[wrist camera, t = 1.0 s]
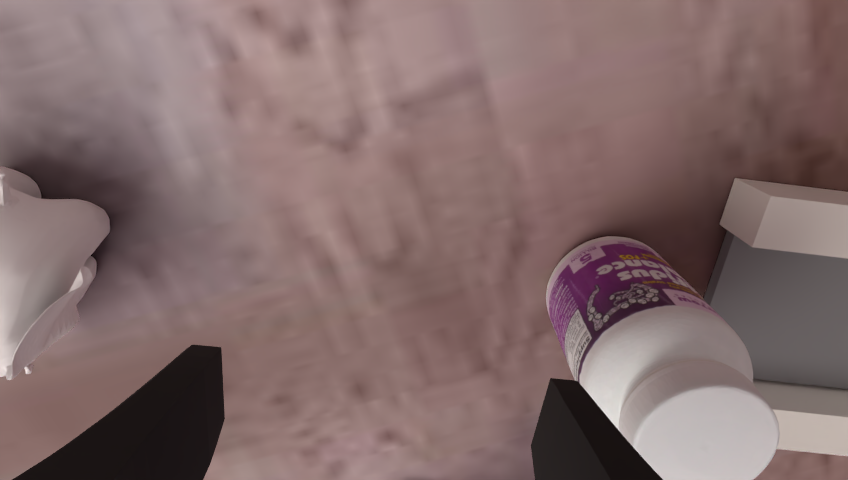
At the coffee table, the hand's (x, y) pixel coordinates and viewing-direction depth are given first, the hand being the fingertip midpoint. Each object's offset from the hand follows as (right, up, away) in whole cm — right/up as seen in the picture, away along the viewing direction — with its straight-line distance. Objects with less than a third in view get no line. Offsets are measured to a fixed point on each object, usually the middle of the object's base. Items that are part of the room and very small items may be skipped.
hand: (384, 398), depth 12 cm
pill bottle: (+9, +1, +12) cm, 15 cm away
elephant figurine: (-15, +3, +12) cm, 19 cm away
